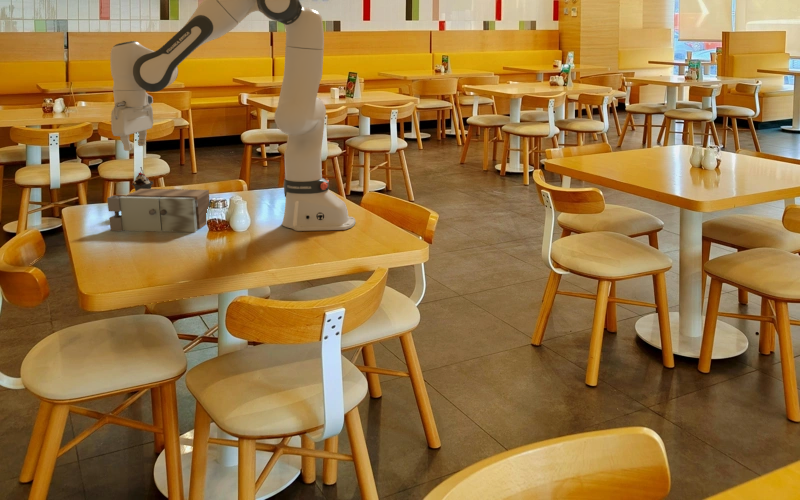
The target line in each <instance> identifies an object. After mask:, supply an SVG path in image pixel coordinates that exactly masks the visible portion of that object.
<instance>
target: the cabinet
mask: <svg viewBox="0 0 800 500" xmlns="http://www.w3.org/2000/svg"><path fill="white" fill-rule="evenodd" d="M126 197H161V198H159V200H160V214H161V222H162V231H161V232H167V233H169V232H172V233H173V232H174V233H176V232H177V233H196V232H197V231H198V230H200V229H202V228H203V227H205V226H207V224H206V213H207V209H208V206H209V201H210V190H209V189H189V188H187V189H185V188H184V189H181V188H180V189H179V188H178V189H177V188H175V189H174V188H173V189H172V188H169V189H168V188H151V189H139V190H137V191H133V192H131V193H129V194H127V195H126ZM113 198H117V197H113ZM210 202H211V201H210ZM114 215H115V218H119V215H120V212H119V211H114Z"/></svg>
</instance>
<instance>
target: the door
mask: <svg viewBox="0 0 800 500" xmlns="http://www.w3.org/2000/svg"><path fill="white" fill-rule="evenodd" d="M113 197H117V198H113ZM159 198H161V197H127V195H126V196H124V195H111V196H109V197H107V209H108V212H115V211H119V213H120V214H119V218H115V214H114V215H112V216H110V217H108V219H109V227H110V228H109V229H110V232H124V230H125V231H131V232H132V231H133V232H163V231H162V222H161V214H160V200H159Z"/></svg>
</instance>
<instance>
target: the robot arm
mask: <svg viewBox="0 0 800 500" xmlns="http://www.w3.org/2000/svg"><path fill="white" fill-rule="evenodd" d="M253 12H260V13H262V14H263V15H264V17H266V18H267V19H269V20H272V21H275V22H278V23H280V24H283V25H284V28H285V52H284V55H285V56H284V69H283V70H284V71H283V78H282V83H281V88H280V93H279V97H278V98H279V99H278V102H277V107H276V110H275V112H274V123H275V125H276V127H277V128H278V129H279V130H280V132H282V133H284V134H287V141H286V147H285V149H284V154H283V155H284V156H283V158H284V175H285V178H284V179H283V180H284V182H283V193H284V197H285V205H284V212H283V217H282V218H283V219H282V223H281V225H282V226H283V227H285V228H290V229H292V230H293V231H296V232H302V231H304V232H305V231H306V232H307V231H311V232H312V231H342V230H344V231H345V230H349V229H351V228H353V226H355V224H356V218H355V217H354V216H349V211H348V208H347V205H346V203H345V201H344V200H342V199H341V198H340V197H338V196H337V195H336V194H334V193H333V192H331V191H330V190H329V187H330V185H329V183H330V182H329V181H330V180H329V179H325V178H324V177H323V174H322V172H323V171H322V147H323V139H324V131H325V120H326V119H325V118H326V115H327V108H326V106H325V103H324V102H323V100H321V99H320V98H319V97H318V93H319V87H320V83H321V81H322V77H323V67H324V66H323V65H324V51H325V50H324V49H325V36H324V35H325V34H324V32H325V31H324V24H323V23H324V21H323V18H322V15H321V13H320V12H319V11H317V10H315V9H313V8H310V7H306V6H302V4H301V2H300V0H202V1H201V3H200V4H199V5H198V6H197V8H196V9H195V10H194V12H193V13H192V15H191V16H190V18H189V19H188V21H187V22H186V23H185V24H184V25H183V27H181V28H180V30H178V31H177V33H175V35H173V36H172V37H171V38H170V39H169V40H168V41H166V42H165V44H163V45H162V46H161V47H160V48H159V49H157V50H152V49H150V48H148V47H145V46H144V45H143V44H141V43H140V42H138V41H135V40H133V41H132V40H130V41H125V42H121V43H117V44H114V45H113V46H112V48H111V49H110V72H111V77H112V80H113V87H112V91H113V93H112V94H113V98H114V99H113V101H114V106H113V108H112V110H111V114H110V117H111V119H110V122H111V124H110V125H111V132H112V135H113V137H120V141H121V143H122V145H123V150H124V151H126V152H127V151H132V149H133V148H132V147H133V146H132V145H133V144H132V143H131V141H130V135H133V134H136V133H137V134H138V139H137V145H138V147H144V146H146V145H147V143H146V142H147V140H146V139H147V135H148V134H147V133H148V132H147V130H150V129H153V125H154V109H153V105H152V104H154V99H153V98H154V97H153V96H152V95H150V94H149V93H147V92H150V93H151V92H152V93H155V92H160V91H162V90H164V89H166V88H167V87H168V86H171V85H172V84H173V83H174V82H175V81H176V80H177V78H178V74H179V67H178V66H179V65H180V64H181V63H182V62H183V61H185V60H186V59H187V58H188V57H189V56H190V55H191V54H192V53H193V52H194V51H195V50H197V49H198V48H199V47H200V46H203V45H204V44H206V43H209V42H211V41H214V40H216V39H219V38H221V37H223V36H225V35H227V34H228V33H229V32H231V31H232V30H234V29H235V28H236V27H237V26H238V25H239V24H240V23H241V22H242V21H243V20H245V18H246V17H248V16H249V15H250V14H251V13H253ZM146 91H147V92H146Z"/></svg>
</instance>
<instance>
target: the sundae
mask: <svg viewBox="0 0 800 500" xmlns="http://www.w3.org/2000/svg"><path fill="white" fill-rule="evenodd" d="M131 185H132V186H133V187H134V190H135V191H137V190H139V189H152V185H154V181H152V180H149V178H148V177H147V176H146V175H145V173H144V170H143V169H142V166H141V167H140V171H139V172H138V173H137V176H136V177H135V179H134V181H133V182H132V183H131ZM135 191H134V192H135Z"/></svg>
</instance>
